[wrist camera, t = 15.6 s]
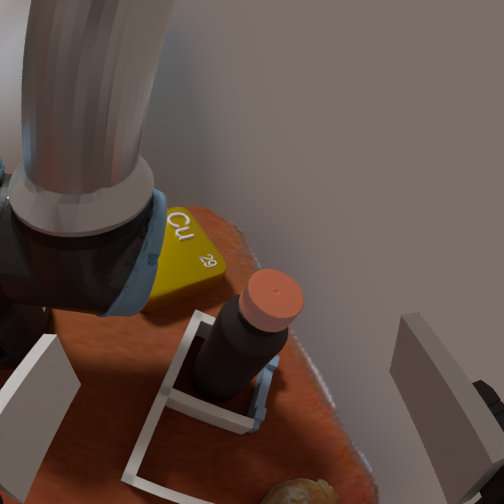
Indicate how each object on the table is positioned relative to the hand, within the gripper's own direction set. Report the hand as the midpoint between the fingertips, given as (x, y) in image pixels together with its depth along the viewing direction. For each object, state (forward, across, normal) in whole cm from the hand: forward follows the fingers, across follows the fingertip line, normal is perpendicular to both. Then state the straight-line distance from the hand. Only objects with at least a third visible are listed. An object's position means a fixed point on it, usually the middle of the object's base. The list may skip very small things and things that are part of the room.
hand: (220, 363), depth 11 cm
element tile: (+36, -14, -11) cm, 40 cm away
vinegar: (+21, -5, -22) cm, 31 cm away
